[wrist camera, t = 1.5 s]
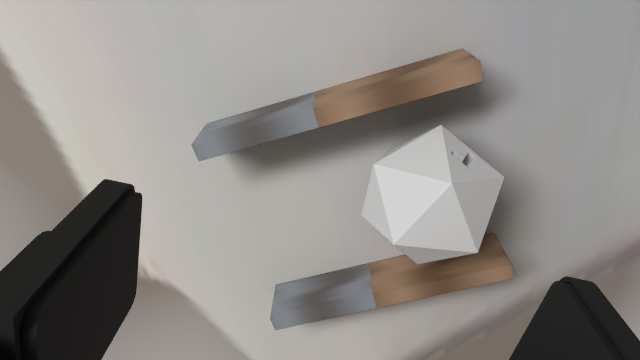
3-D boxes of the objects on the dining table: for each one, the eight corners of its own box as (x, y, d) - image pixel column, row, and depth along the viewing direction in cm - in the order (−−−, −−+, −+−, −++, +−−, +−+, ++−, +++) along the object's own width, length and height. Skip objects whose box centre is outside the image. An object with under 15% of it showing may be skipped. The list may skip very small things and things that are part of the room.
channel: (462, 48, 30) (480, 60, 27) (496, 246, 37) (514, 278, 33) (206, 123, 33) (191, 144, 29) (280, 295, 39) (275, 330, 36)
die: (488, 201, 36) (555, 175, 26) (417, 287, 34) (462, 293, 25) (405, 132, 37) (442, 83, 27) (334, 214, 35) (346, 192, 26)
